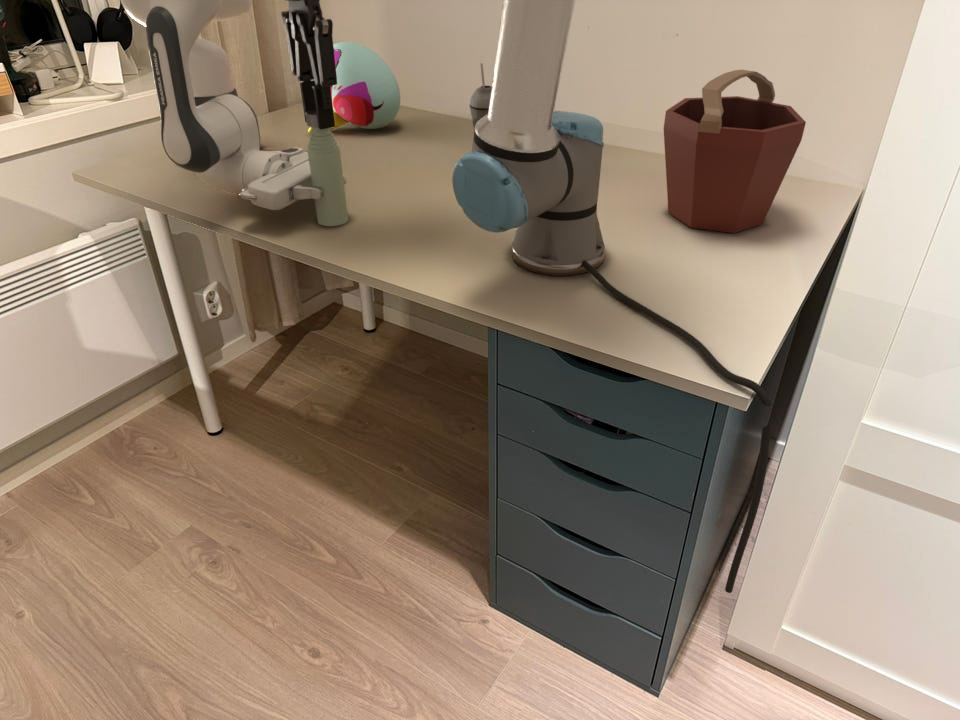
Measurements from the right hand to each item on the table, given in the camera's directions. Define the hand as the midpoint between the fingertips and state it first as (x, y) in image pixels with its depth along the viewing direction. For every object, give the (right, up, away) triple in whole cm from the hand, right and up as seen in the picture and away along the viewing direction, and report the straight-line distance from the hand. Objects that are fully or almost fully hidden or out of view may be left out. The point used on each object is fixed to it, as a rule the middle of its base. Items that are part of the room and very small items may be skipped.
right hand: (320, 124), depth 121 cm
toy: (-5, +19, +59) cm, 62 cm away
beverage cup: (+29, +5, +38) cm, 48 cm away
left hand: (+1, -9, +6) cm, 11 cm away
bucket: (+71, -13, +11) cm, 73 cm away
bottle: (0, -15, +10) cm, 18 cm away
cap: (0, +2, -1) cm, 2 cm away
